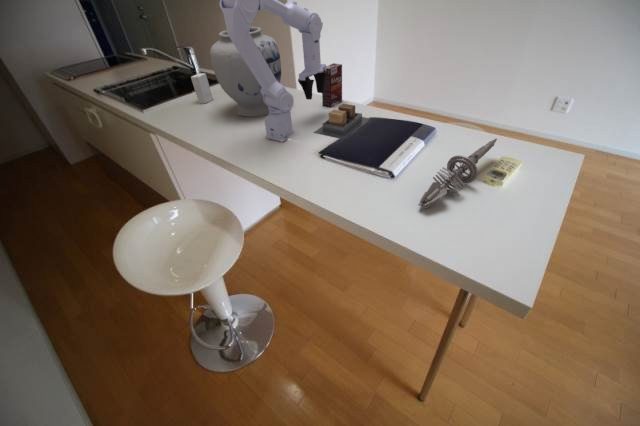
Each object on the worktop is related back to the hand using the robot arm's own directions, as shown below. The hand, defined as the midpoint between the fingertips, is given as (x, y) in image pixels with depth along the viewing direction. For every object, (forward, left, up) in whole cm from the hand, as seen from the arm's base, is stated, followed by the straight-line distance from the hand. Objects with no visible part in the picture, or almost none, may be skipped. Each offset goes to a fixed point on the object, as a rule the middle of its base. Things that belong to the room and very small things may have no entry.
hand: (314, 95), depth 107 cm
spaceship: (-19, -57, -10) cm, 61 cm away
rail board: (-2, -13, -9) cm, 16 cm away
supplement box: (+16, +2, -10) cm, 19 cm away
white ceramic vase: (-1, +31, -10) cm, 32 cm away
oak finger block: (-5, -13, -8) cm, 16 cm away
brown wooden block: (+1, -13, -8) cm, 16 cm away
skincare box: (-3, +62, -10) cm, 63 cm away
